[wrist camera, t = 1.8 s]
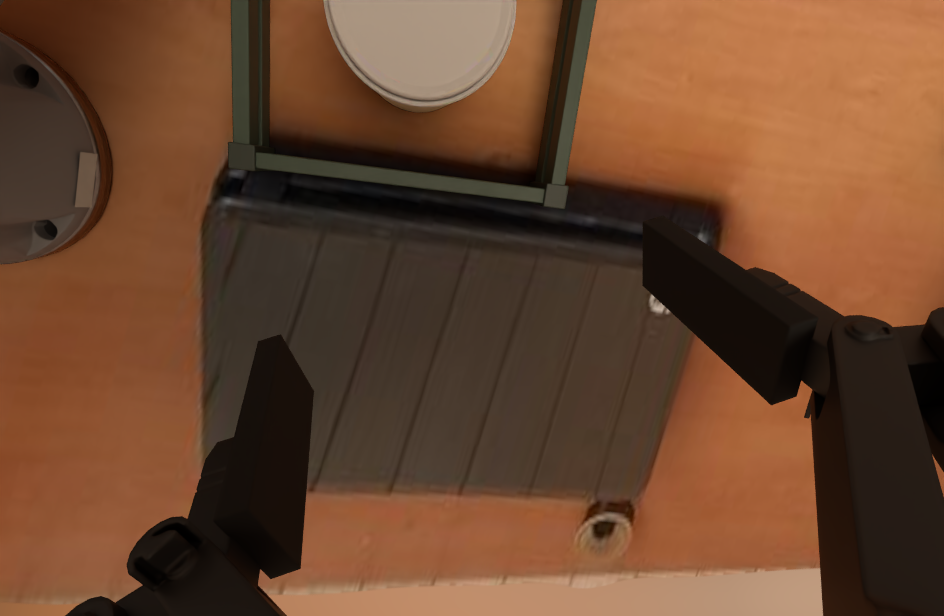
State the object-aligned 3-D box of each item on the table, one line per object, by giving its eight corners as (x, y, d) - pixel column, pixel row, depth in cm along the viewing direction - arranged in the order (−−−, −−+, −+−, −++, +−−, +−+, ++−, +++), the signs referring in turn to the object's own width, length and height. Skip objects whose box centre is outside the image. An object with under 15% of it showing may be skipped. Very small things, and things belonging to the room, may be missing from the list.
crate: (252, 168, 34) (228, 168, 29) (250, -139, 29) (221, -197, 24) (545, 204, 38) (564, 209, 33) (589, -63, 32) (619, -101, 28)
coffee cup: (467, 137, 35) (496, 124, 24) (341, 108, 34) (308, 78, 22) (494, 0, 33) (541, -87, 21) (360, -40, 31) (333, -158, 20)
